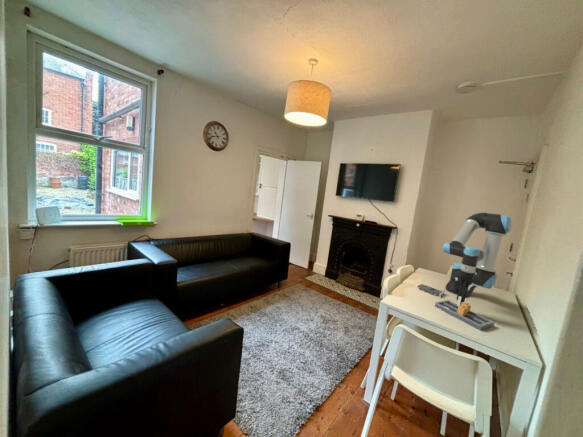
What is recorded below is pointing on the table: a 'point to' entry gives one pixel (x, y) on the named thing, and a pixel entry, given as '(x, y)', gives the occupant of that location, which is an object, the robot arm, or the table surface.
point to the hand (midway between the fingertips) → (459, 305)
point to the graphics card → (431, 290)
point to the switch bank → (469, 318)
